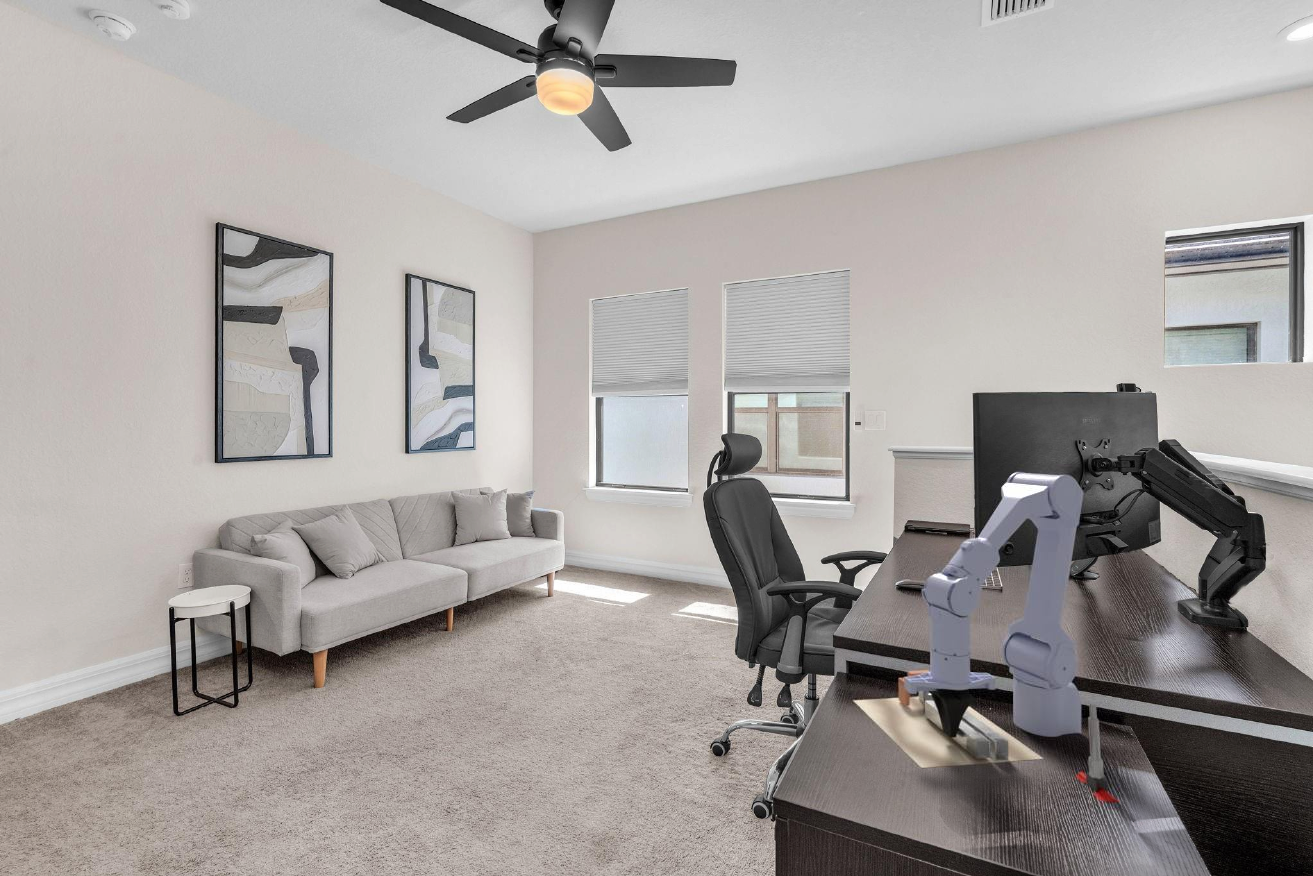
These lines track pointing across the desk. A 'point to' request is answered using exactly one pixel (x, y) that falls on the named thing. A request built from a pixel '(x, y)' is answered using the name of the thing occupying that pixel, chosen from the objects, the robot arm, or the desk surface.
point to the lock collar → (904, 694)
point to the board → (932, 734)
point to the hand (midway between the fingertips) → (949, 734)
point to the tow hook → (1095, 761)
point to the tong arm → (962, 734)
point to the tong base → (979, 731)
